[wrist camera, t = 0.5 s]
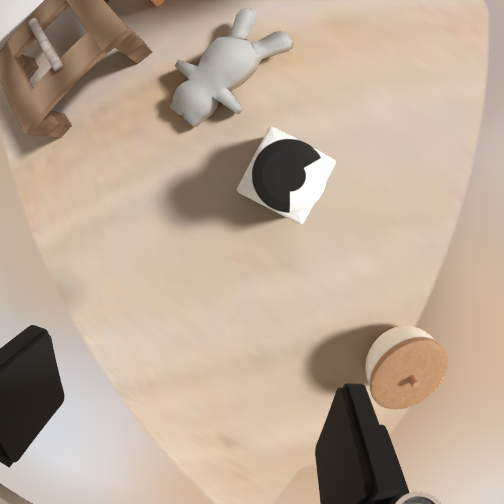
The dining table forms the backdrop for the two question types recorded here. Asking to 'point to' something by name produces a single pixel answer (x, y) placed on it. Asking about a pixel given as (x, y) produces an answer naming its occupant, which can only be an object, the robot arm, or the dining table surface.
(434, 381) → the lidded jar
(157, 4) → the orange boxy part
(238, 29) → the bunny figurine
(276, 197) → the medicine bottle
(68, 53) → the brown square frame
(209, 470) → the dining table surface
